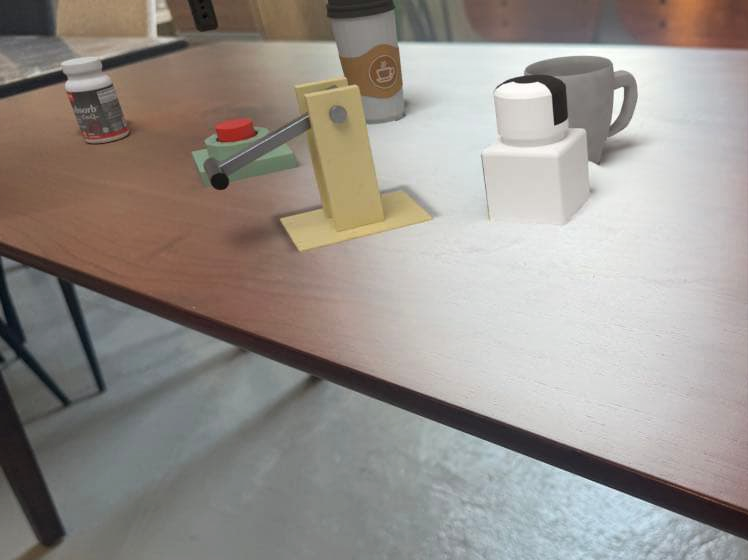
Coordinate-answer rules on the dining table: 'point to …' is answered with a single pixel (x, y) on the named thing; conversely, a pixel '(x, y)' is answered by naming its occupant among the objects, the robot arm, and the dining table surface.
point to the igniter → (264, 165)
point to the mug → (591, 96)
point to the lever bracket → (344, 173)
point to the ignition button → (235, 130)
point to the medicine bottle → (535, 155)
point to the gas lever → (254, 151)
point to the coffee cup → (370, 55)
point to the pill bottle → (94, 101)
